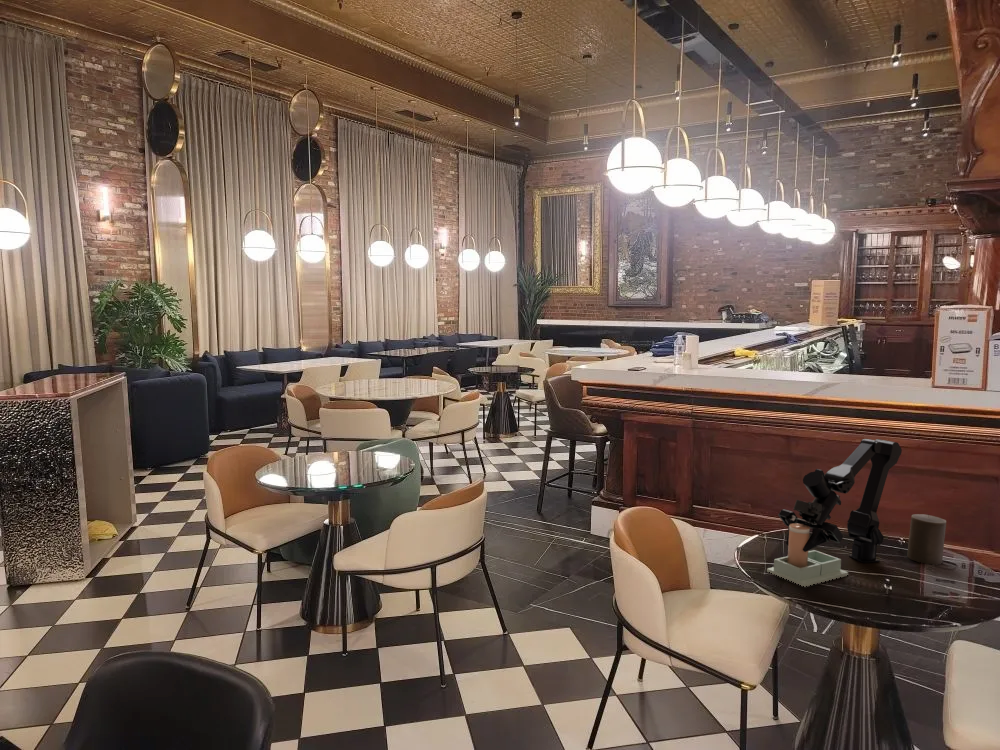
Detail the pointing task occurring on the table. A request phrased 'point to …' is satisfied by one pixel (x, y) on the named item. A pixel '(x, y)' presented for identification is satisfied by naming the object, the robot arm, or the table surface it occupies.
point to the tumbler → (798, 545)
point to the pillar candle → (926, 539)
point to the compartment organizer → (809, 569)
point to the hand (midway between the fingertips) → (795, 547)
